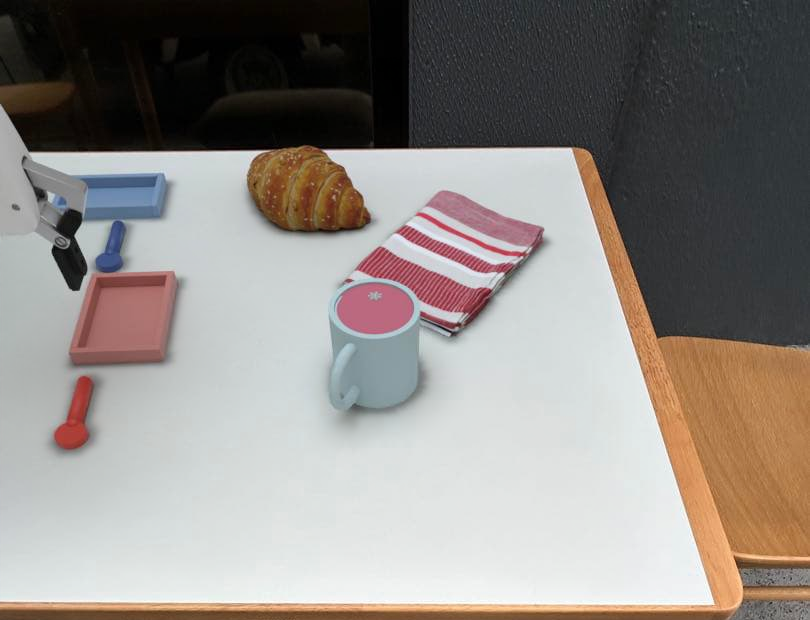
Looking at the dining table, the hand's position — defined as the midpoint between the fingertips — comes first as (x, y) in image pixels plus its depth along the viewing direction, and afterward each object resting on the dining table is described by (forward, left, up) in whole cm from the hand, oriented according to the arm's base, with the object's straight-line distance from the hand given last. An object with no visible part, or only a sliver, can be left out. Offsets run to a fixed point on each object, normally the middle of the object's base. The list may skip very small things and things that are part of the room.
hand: (22, 283), depth 58 cm
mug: (+29, +2, -17) cm, 34 cm away
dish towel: (+40, +24, -17) cm, 50 cm away
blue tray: (-5, +40, -17) cm, 43 cm away
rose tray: (+1, +15, -17) cm, 22 cm away
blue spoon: (-3, +29, -17) cm, 33 cm away
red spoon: (-2, 0, -17) cm, 17 cm away
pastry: (+21, +38, -17) cm, 46 cm away
